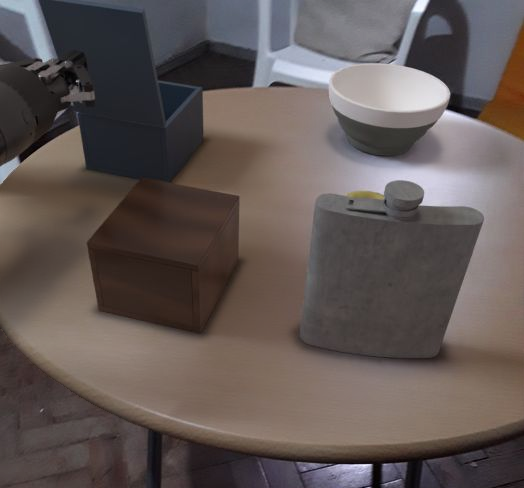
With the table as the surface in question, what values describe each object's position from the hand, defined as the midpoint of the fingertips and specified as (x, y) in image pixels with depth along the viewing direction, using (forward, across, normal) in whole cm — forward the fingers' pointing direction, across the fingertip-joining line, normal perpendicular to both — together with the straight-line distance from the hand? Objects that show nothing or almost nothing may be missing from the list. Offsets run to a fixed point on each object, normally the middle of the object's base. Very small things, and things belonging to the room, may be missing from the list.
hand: (80, 59), depth 76 cm
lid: (+7, 0, -3) cm, 7 cm away
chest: (+16, 0, -20) cm, 26 cm away
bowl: (+34, +35, -20) cm, 53 cm away
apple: (+1, +37, -20) cm, 42 cm away
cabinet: (-14, +16, -20) cm, 29 cm away
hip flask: (-17, +41, -20) cm, 49 cm away
